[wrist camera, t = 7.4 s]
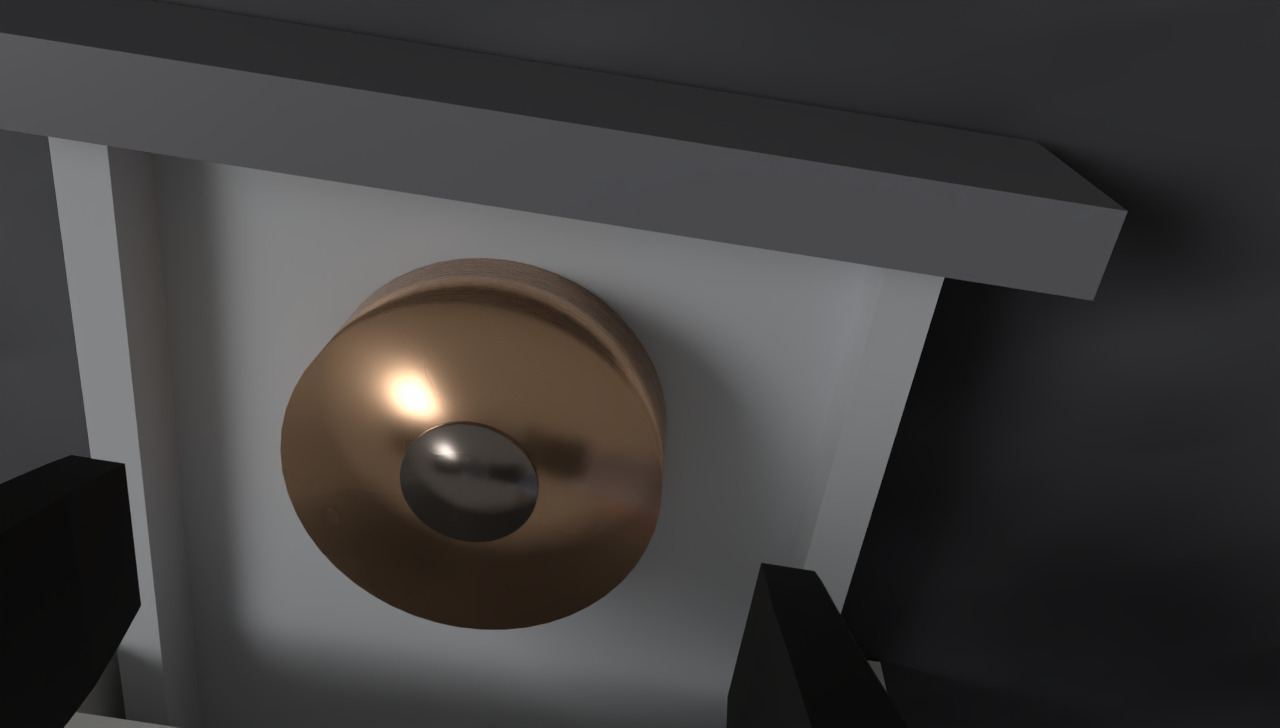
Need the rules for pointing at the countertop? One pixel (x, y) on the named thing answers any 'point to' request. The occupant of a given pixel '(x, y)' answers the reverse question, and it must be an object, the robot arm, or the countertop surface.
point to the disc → (479, 445)
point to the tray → (509, 230)
